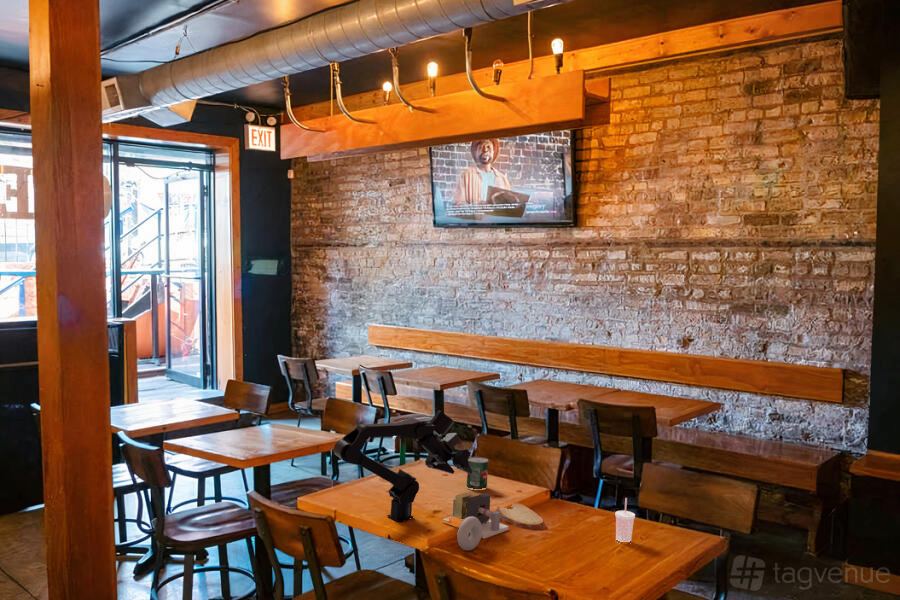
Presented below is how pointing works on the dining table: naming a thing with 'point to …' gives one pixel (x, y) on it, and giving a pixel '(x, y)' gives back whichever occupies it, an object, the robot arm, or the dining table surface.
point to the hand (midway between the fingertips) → (462, 472)
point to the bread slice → (521, 517)
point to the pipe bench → (487, 522)
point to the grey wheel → (463, 533)
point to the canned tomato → (477, 473)
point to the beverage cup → (624, 524)
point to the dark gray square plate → (479, 501)
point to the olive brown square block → (462, 504)
